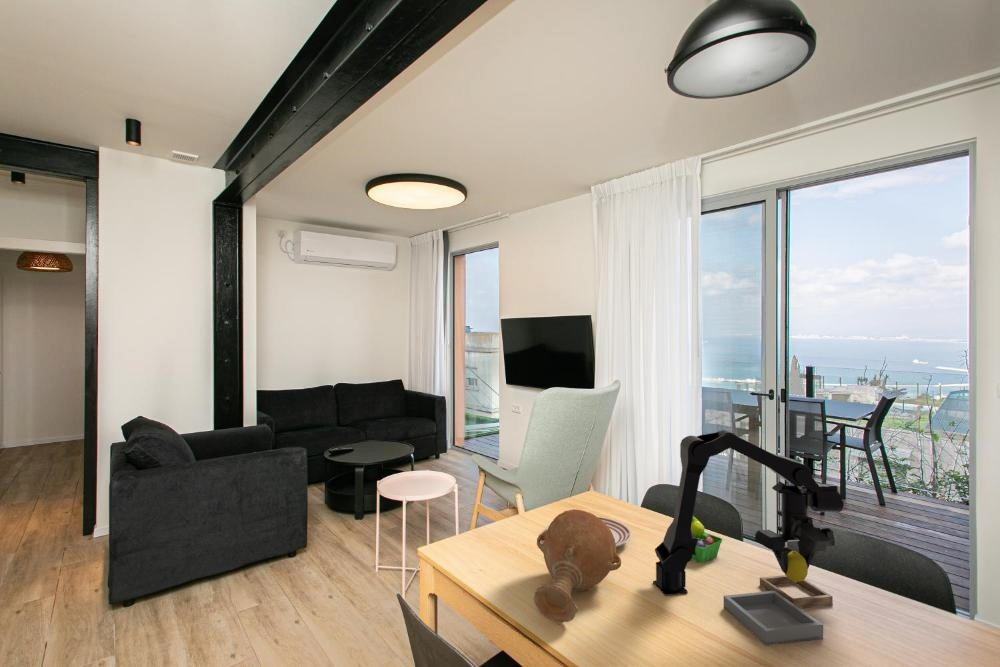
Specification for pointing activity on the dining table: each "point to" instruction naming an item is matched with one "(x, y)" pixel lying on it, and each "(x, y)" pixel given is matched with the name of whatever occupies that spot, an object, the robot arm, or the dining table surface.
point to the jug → (574, 561)
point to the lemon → (796, 567)
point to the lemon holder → (817, 600)
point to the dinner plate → (616, 530)
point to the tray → (773, 618)
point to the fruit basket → (704, 543)
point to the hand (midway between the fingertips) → (794, 571)
